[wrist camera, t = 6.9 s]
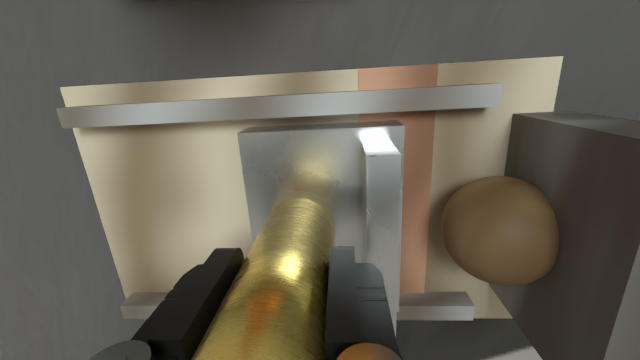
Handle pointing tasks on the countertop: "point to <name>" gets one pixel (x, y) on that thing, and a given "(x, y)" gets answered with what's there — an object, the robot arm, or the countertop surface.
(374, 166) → the handle
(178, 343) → the robot arm
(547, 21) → the countertop surface
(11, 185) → the countertop surface
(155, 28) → the countertop surface
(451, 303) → the board
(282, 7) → the countertop surface
